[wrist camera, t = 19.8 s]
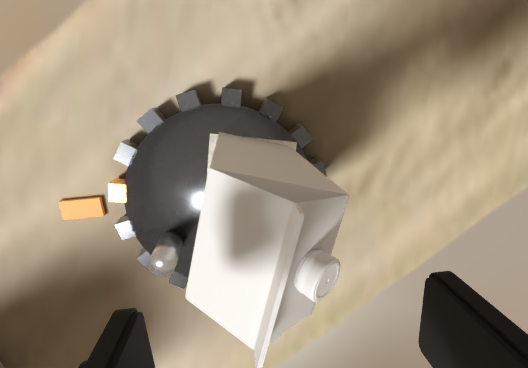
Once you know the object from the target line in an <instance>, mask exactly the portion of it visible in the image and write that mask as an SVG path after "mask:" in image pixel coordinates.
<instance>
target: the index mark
mask: <svg viewBox="0 0 528 368" xmlns="http://www.w3.org/2000/svg"><path fill="white" fill-rule="evenodd" d="M58 203H59V207H60V210H61V214H62V217H63V220H70V219H80V218H90V217H100V216H104V215H105V210H104V206H103V201H102V197H91V198H80V199H70V200H61V201H59V202H58Z"/></svg>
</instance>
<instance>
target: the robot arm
mask: <svg viewBox="0 0 528 368" xmlns="http://www.w3.org/2000/svg"><path fill="white" fill-rule="evenodd" d="M419 347H420V349H421V352H422V353H423V355H424V356H425V357H426V359H427V360H428V362H429V363H430V364H431V366H432V367H433V368H528V334H526V333H525V332H524V331H523V330H522V329H520V328H519V327H518V326H517V325H516V324H514V323H513V322H512V321H511V320H509V319H508V318H507V317H506V316H504V315H503V314H502V313H501V312H500V311H499V310H497V309H496V308H495V307H494V306H493V305H491V304H490V303H489V302H488V301H486V300H485V299H484V298H483V297H482V296H480V295H479V294H478V293H477V292H475V291H474V290H473V289H472V288H471V287H469V286H468V285H467V284H466V283H465V282H463V281H462V280H461V279H460V278H459V277H457V276H456V275H455V274H454V273H452V272H450V271H444V272H435V273H431V274H430V276H429V278H427V279H426V281H425V288H424V297H423V306H422V315H421V324H420V332H419ZM78 368H155V365H154V361H153V356H152V352H151V347H150V343H149V338H148V334H147V330H146V325H145V321H144V316H143V313H142V312H137V310H136V309H135V308H130V309H122V310H116V311H114V313H113V314H112V316H111V318H110V320H109V322H108V324H107V325H106V327H105V329H104V331H103V333H102V335H101V337H100V338H99V340H98V342H97V344H96V346H95V348H94V349H93V351H92V353H91V355H90V357H89V359H88V360H87V361H84V362H83V363H81V364H80V366H79V367H78Z"/></svg>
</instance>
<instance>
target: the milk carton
mask: <svg viewBox="0 0 528 368" xmlns="http://www.w3.org/2000/svg"><path fill="white" fill-rule="evenodd" d="M348 197H349V195H348V194H347V193H346V192H345V191H343V190H342V189H341V188H340V187H339V186H337V185H336V184H335V183H334V182H333V181H331V180H330V179H329V178H328V177H326V176H325V175H324V174H323V173H322V172H320V171H319V170H318V169H317V168H316V167H314V166H313V165H312V164H311V163H309V162H308V161H307V160H306V159H305V158H303V157H302V156H301V155H300V154H298V153H297V152H296V151H295V150H294V149H292V148H291V147H288V146H283V145H278V144H274V143H269V142H264V141H260V140H255V139H250V138H246V137H241V136H236V135H232V134H227V133H222V132H219V134H218V137H217V141H216V145H215V149H214V152H213V156H212V160H211V164H210V167H209V171H208V175H207V180H206V185H205V190H204V196H203V201H202V207H201V212H200V218H199V223H198V228H197V234H196V239H195V245H194V250H193V255H192V261H191V266H190V272H189V277H188V283H187V289H186V299H187V300H188V301H189V302H191V303H192V304H193V305H195V306H196V307H197V308H199V309H200V310H201V311H203V312H204V313H205V314H207V315H208V316H209V317H211V318H212V319H213V320H214V321H216V322H217V323H218V324H220V325H221V326H222V327H224V328H225V329H226V330H228V331H229V332H230V333H232V334H233V335H234V336H236V337H237V338H238V339H240V340H241V341H242V342H244V343H245V344H246V345H248V346H249V347H250V348H252V349H253V350H254V355H255V365H256V368H262V367H263V363H264V359H265V356H266V352H267V349H268V345H269V343H270V342H272V341H273V340H275V339H276V338H277V337H279V336H280V335H282V334H283V333H285V332H286V331H288V330H289V329H291V328H292V327H294V326H295V325H296V324H298V323H299V322H301V321H302V320H304V319H305V318H307V317H308V316H309V315H311V313H312V311H313V309H314V306H315V303H316V302H318V301H320V300H322V299H323V298H325V297H326V296H327V295H328V294H329V292H330V291H331V290H332V288H333V286H334V284H335V282H336V280H337V277H338V274H339V271H340V262H339V260H338V259H336V258H335V257H333V256H331V252H332V249H333V246H334V243H335V240H336V237H337V233H338V230H339V227H340V224H341V221H342V218H343V214H344V211H345V207H346V204H347V201H348Z"/></svg>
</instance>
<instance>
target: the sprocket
mask: <svg viewBox="0 0 528 368" xmlns="http://www.w3.org/2000/svg"><path fill="white" fill-rule="evenodd" d="M241 96H242V90H239V89H231V88H223V87H222V99H221V103H215V104H205V105H202V104H201V101H200V98H199V95H198V92H197V90H192V91H189V92H185V93H182V94H178V95H176V98H177V101H178V104H179V106H180V109H181V112H178V113H176V114H174V115H172V116H170V117H169V118H167V119H166V118H165V116H164V115H163V114H162V113H161V112H160V111H159V110H158V109H157V108H151V109H150V110H149V111H148V112H147V113H145V114H144V115H143V116H142V117H141V118H140V119H138V120H137V122H138V123H139V124H140V125H141V126H142V127H143V128H144V129H145V130H146V132H147V133H148V134H147V135H146V136H145V138H144V139H143V140H142V142H141V143H140V144H137V143H135V142H133V141H131V140H129V139H127V140H125V141H122V142H121V143H120V145H119V148H118V150H117V152H116V154H115V157H114V160H117V161H119V162H121V163H123V164H125V165H127V166H128V169H127V174H126V178H125V179H121V178H116V179H114V180H113V181H111V182H110V183H109V184H108V185H109V201H110V202H125V208H126V212H127V216H123V217H121V218H120V219H119V220H118V222H117V223H116V224H115V227H116V229H117V231H118V233H119V235H120V237H121V239H122V240H125V239H128V238H132V237H135V236H136V237H137V239H138V240H139V242H140V243H141V244H142V246H143V247H144V248H143V249H142V250H141V252H140V254H139V255H138V257H137V260H138V261H139V262H140V263H141V264H142V265H143V266H144V267H146V268H147V269H148V270H149V271H150V272H151V273H152V274H153V275H155V276H157V277H166V276H169V275H171V277H170V280H169V283H171V284H174V285H176V286H179V287H181V288H185V286H186V285H187V283H188V277H189V272H190V266H191V261H192V255H193V250H194V245H195V239H196V234H197V228H198V223H199V218H200V212H201V207H202V201H203V196H204V190H205V185H206V180H207V175H208V171H209V167H210V164H211V160H212V156H213V152H214V149H215V145H216V141H217V137H218V134H219V132H222V133H227V134H232V135H236V136H241V137H246V138H250V139H255V140H260V141H264V142H269V143H274V144H278V145H283V146H288V147H291V148H292V149H294V150H295V151H296V152H297V153H298V154H300V155H301V156H302V157H303V158H305V159H306V160H307V158H306V156H305V154H304V152H303V150H302V148H304V147H305V146H306V145H307V144H309V143H310V142H311V141H312V140H313V138H312V137H311V136H310V134H309V133H308V132H307V130H306V129H305V128H304V126H303V125H301V124H297V125H296V126H295V127H293V128H292V129H291V130H290V131H287V130H286V129H285V128H283V127H282V126H281V125H280V124H279V123H277V120H278V118H279V116H280V114H281V113H282V111H283V109H284V108H283V107H281V106H279V105H278V104H276V103H274V102H273V101H271V100H269V99H266V98H265V100H264V101H263V103H262V105H261V107H260V109H259V111H256V110H253V109H250V108H247V107H244V106H241ZM307 161H308V162H309V163H311V164H312V165H313V166H314V167H316V168H317V169H318V170H319V171H320V172H322V173H323V174H324V175H325V176H326V171H325V167H324V163H323V161H322V160H321V159H319V158H314V159H311V160H307ZM326 177H327V176H326Z"/></svg>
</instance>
